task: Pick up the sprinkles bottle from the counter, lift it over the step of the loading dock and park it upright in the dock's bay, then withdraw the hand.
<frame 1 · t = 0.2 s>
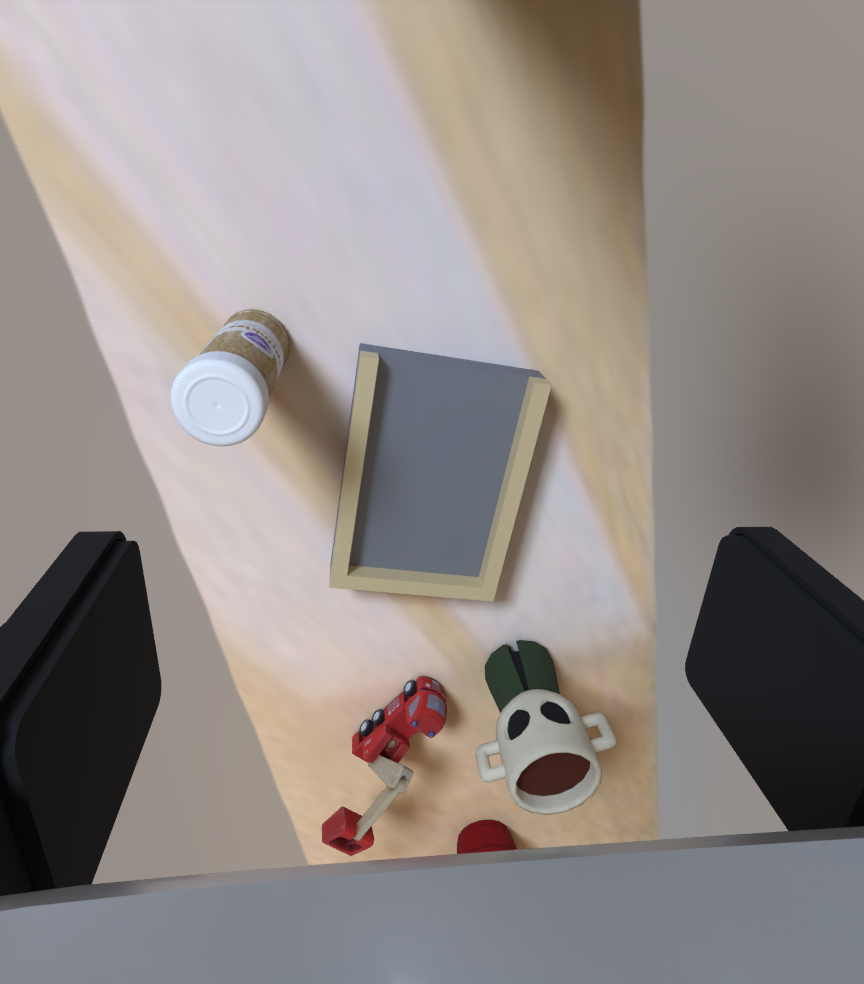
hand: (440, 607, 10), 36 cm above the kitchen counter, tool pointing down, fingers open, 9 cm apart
loading dock: (428, 471, 49), on the kitchen counter
sprinkles bottle: (255, 341, 43), on the kitchen counter
character mug: (516, 661, 59), on the kitchen counter
toy fire truck: (385, 719, 60), on the kitchen counter
plastic cup: (481, 834, 69), on the kitchen counter
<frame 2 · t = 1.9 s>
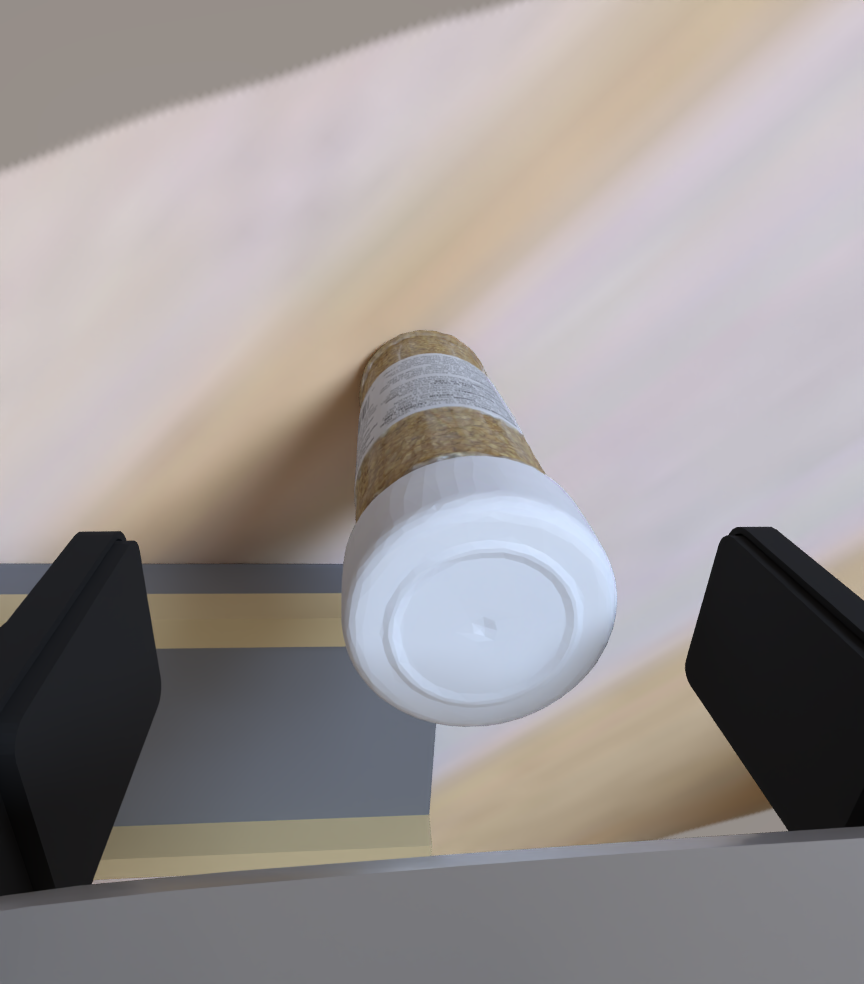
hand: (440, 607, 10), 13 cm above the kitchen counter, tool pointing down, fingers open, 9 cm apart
loading dock: (221, 695, 27), on the kitchen counter
sprinkles bottle: (422, 390, 22), on the kitchen counter
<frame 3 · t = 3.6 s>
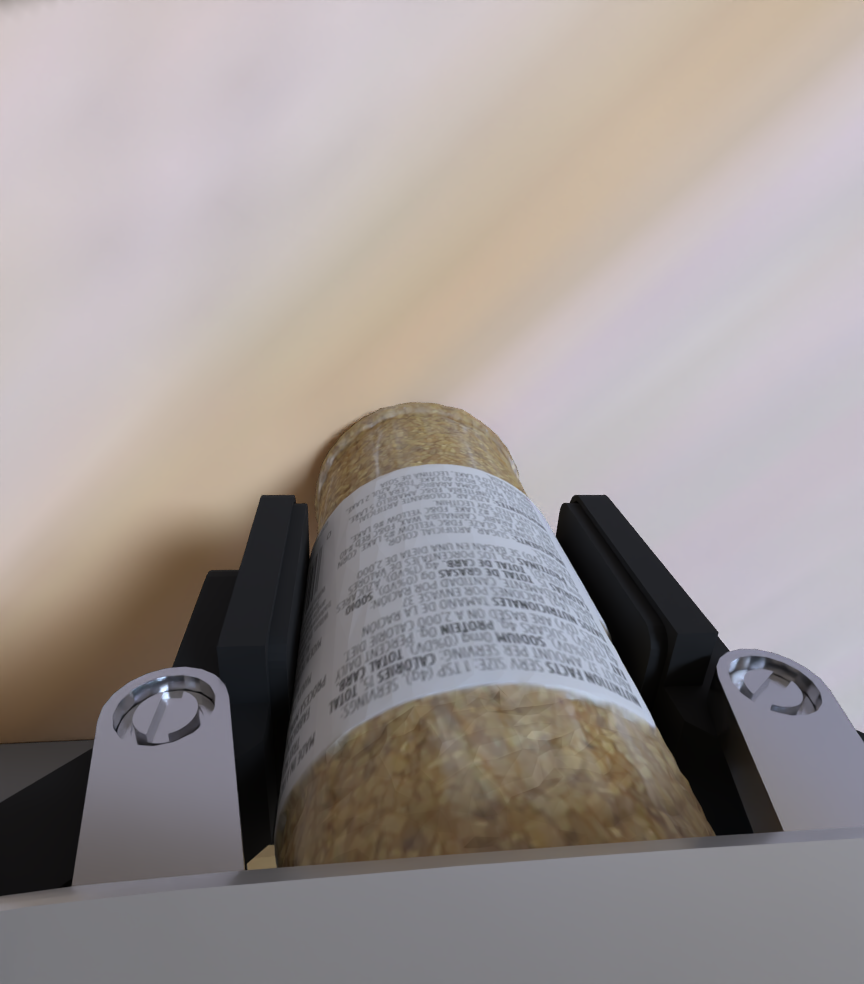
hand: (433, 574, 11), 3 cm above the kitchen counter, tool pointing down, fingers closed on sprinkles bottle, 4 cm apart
loading dock: (130, 900, 19), on the kitchen counter
sprinkles bottle: (415, 488, 14), on the kitchen counter, touching gripper
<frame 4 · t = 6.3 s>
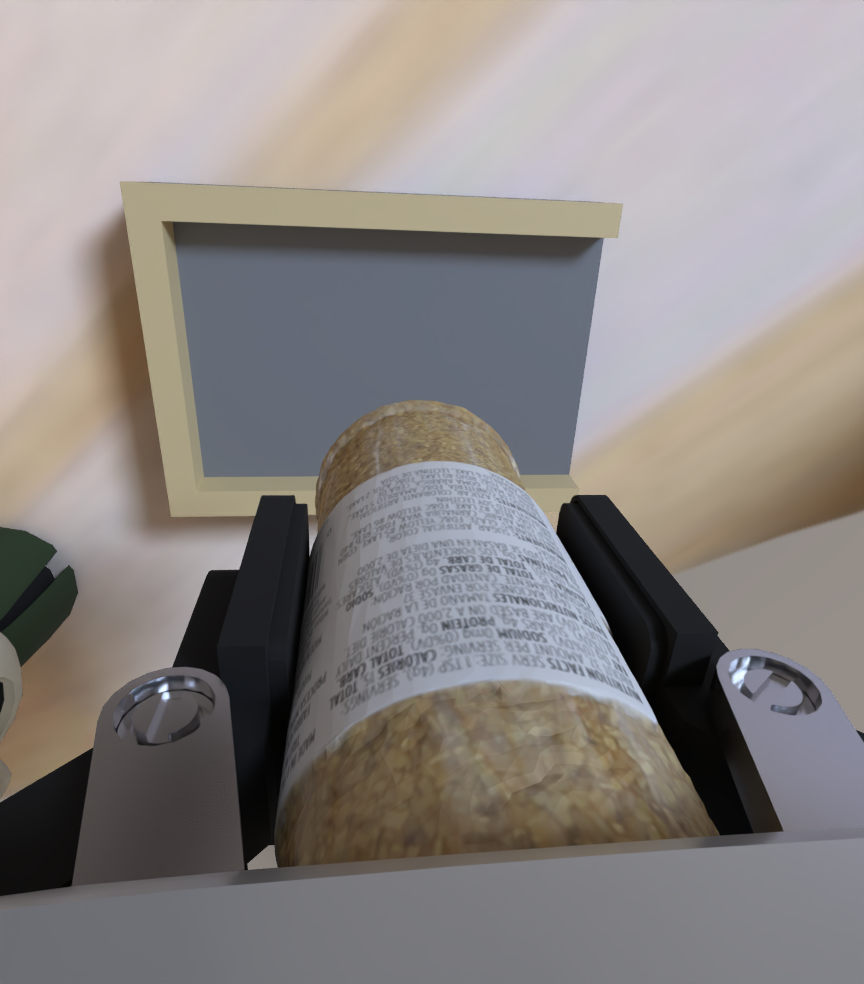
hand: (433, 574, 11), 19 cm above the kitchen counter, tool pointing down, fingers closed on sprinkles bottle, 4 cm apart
loading dock: (378, 350, 29), on the kitchen counter
sprinkles bottle: (416, 485, 14), point 16 cm above the kitchen counter, touching gripper
character mug: (16, 573, 32), on the kitchen counter
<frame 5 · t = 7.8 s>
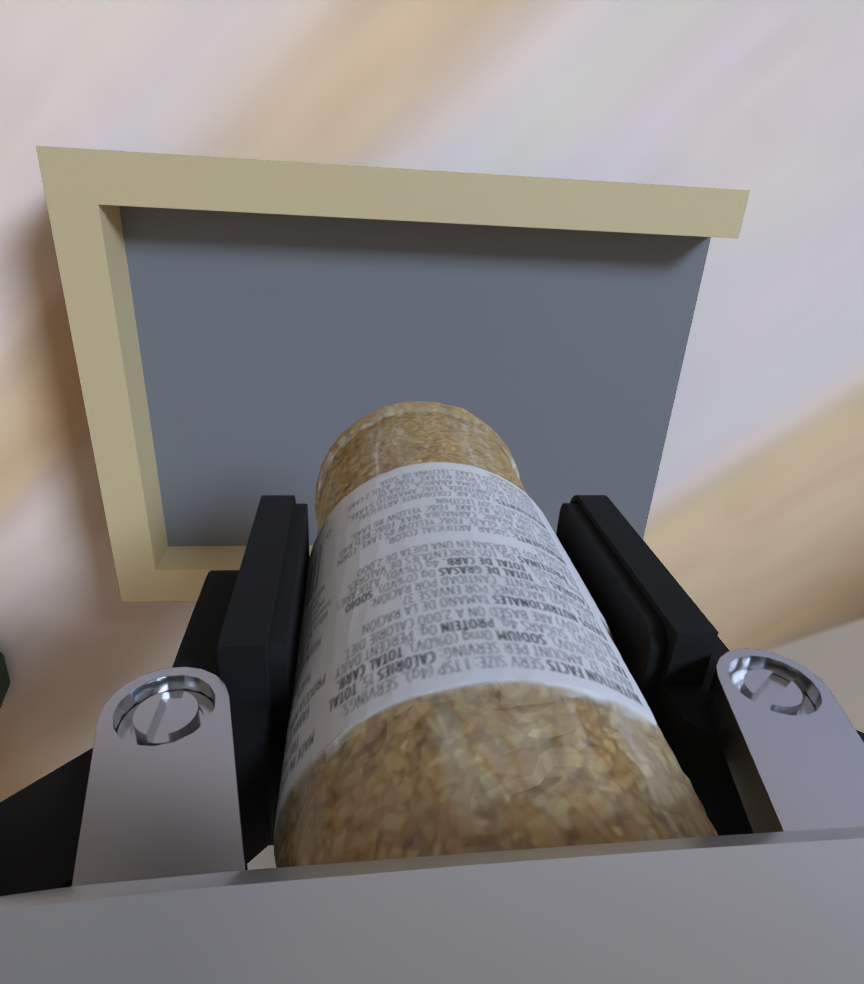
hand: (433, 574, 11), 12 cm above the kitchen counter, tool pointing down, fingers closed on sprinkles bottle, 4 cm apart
loading dock: (399, 382, 22), on the kitchen counter
sprinkles bottle: (416, 486, 14), point 9 cm above the kitchen counter, touching gripper
when the fingers open (6 cm above the kitchen counter, at t = 9.2 s): sprinkles bottle stays where it is, resting on loading dock.
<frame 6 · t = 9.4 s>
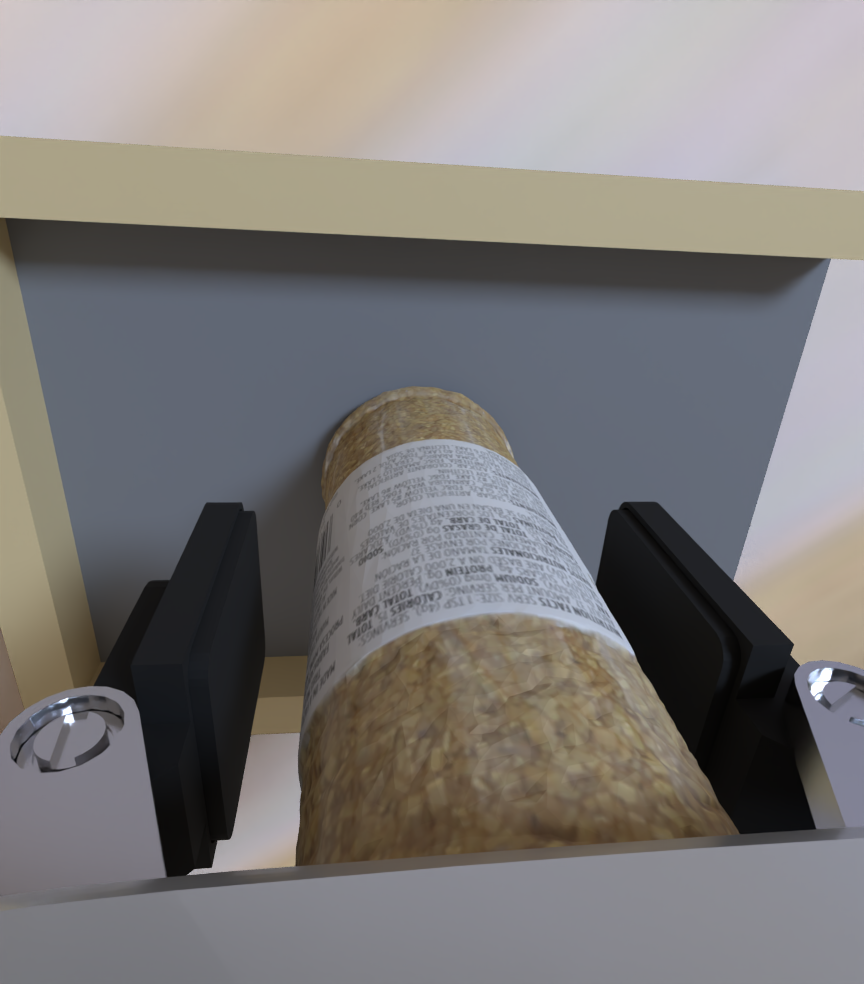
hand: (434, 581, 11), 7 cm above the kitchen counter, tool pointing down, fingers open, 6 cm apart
loading dock: (405, 443, 17), on the kitchen counter
sprinkles bottle: (416, 468, 15), point 2 cm above the kitchen counter, touching loading dock
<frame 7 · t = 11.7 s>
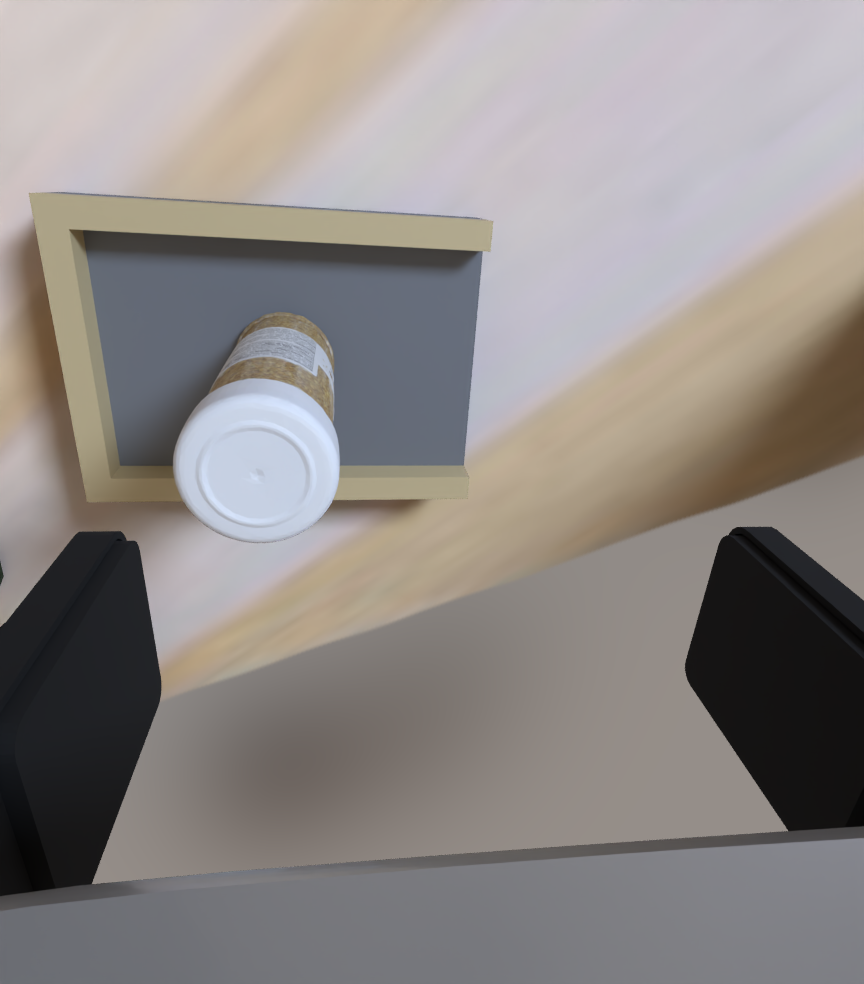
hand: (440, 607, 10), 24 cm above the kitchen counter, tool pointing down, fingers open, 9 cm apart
loading dock: (285, 350, 31), on the kitchen counter
sprinkles bottle: (285, 357, 30), point 2 cm above the kitchen counter, touching loading dock
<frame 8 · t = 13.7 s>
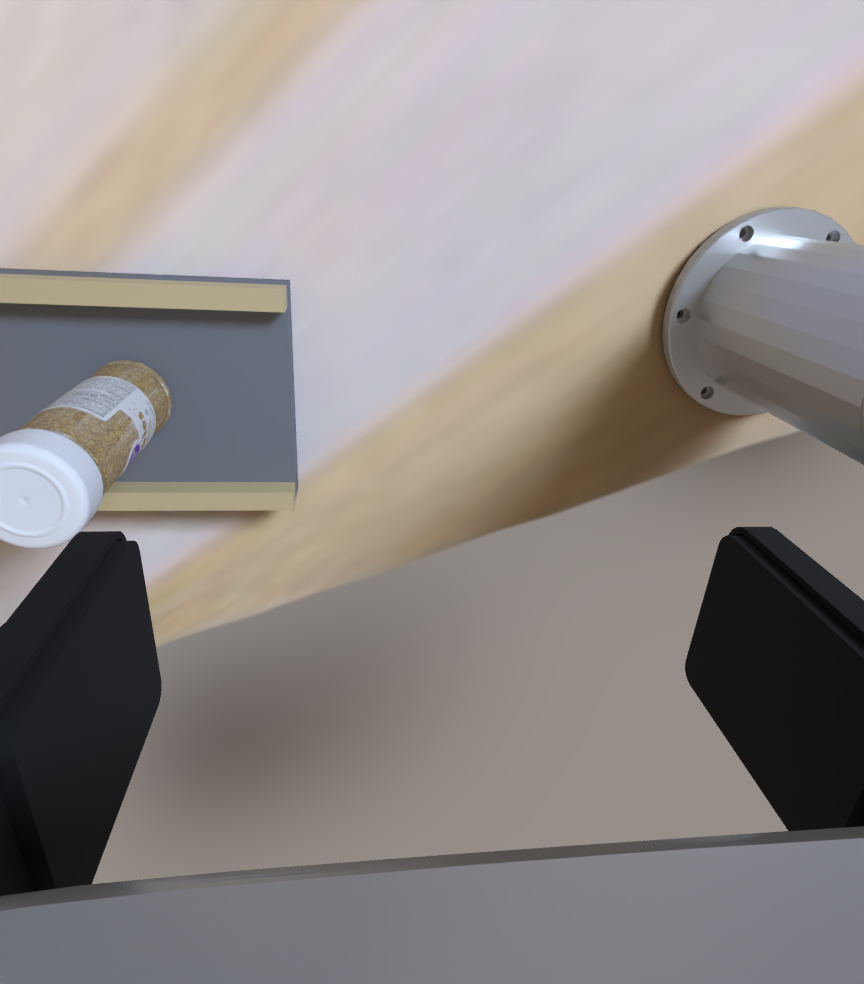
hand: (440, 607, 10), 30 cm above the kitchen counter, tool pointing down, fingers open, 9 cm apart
loading dock: (140, 387, 38), on the kitchen counter
sprinkles bottle: (133, 395, 36), point 2 cm above the kitchen counter, touching loading dock
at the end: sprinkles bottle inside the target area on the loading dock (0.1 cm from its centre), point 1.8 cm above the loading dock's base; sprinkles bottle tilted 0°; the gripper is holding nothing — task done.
